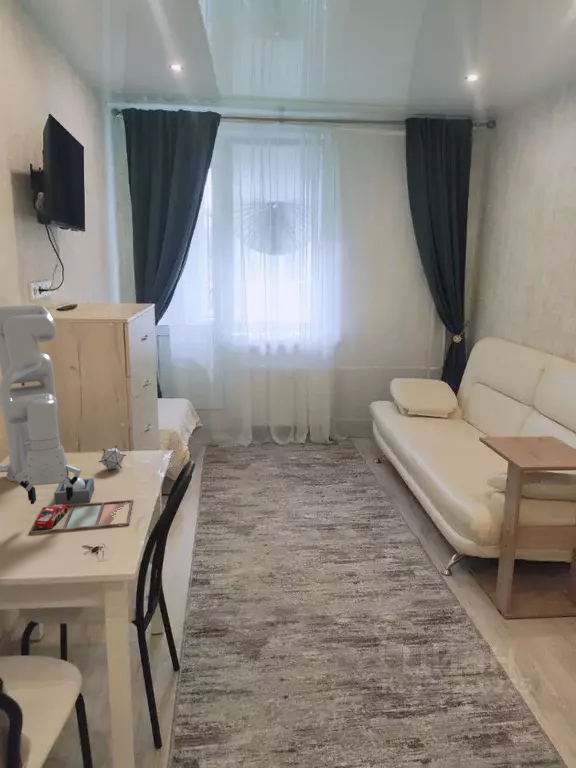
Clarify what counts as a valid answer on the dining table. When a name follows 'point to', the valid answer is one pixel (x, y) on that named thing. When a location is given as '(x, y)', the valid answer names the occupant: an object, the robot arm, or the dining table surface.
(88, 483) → the base
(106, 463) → the game die
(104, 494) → the dining table surface
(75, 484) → the dome
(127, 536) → the dining table surface
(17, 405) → the robot arm
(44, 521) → the race car
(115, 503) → the brown divided frame
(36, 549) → the dining table surface
